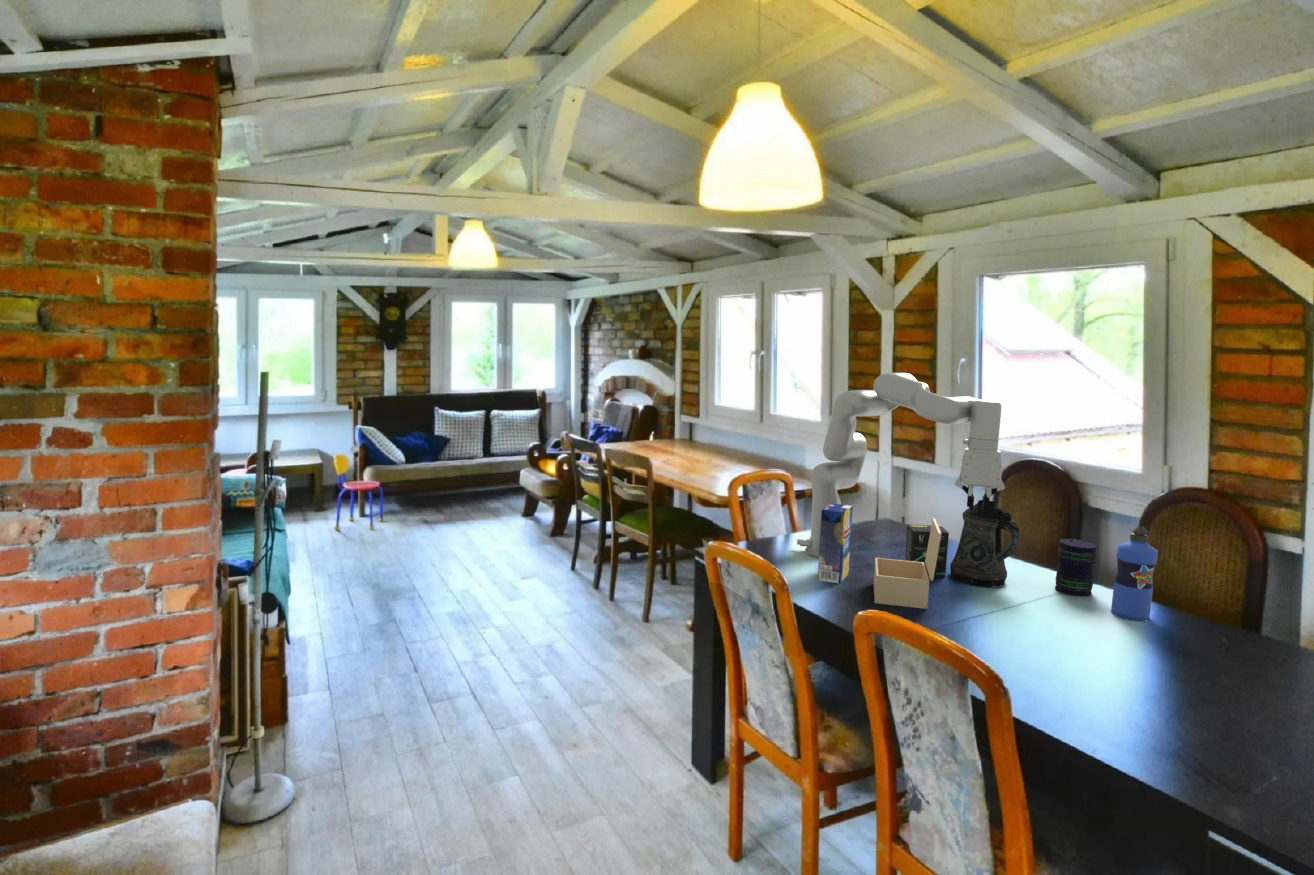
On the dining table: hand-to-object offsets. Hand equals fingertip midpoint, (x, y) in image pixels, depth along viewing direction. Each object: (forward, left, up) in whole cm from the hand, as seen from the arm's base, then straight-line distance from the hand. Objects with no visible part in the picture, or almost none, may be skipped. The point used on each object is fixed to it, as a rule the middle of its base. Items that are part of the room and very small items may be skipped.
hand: (977, 509), depth 209 cm
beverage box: (-38, +11, -27) cm, 48 cm away
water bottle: (+42, +5, -27) cm, 50 cm away
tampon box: (-10, +26, -27) cm, 39 cm away
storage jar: (+32, +22, -27) cm, 48 cm away
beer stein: (+7, +24, -27) cm, 37 cm away
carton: (-19, 0, -27) cm, 33 cm away
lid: (-11, 0, -12) cm, 17 cm away
